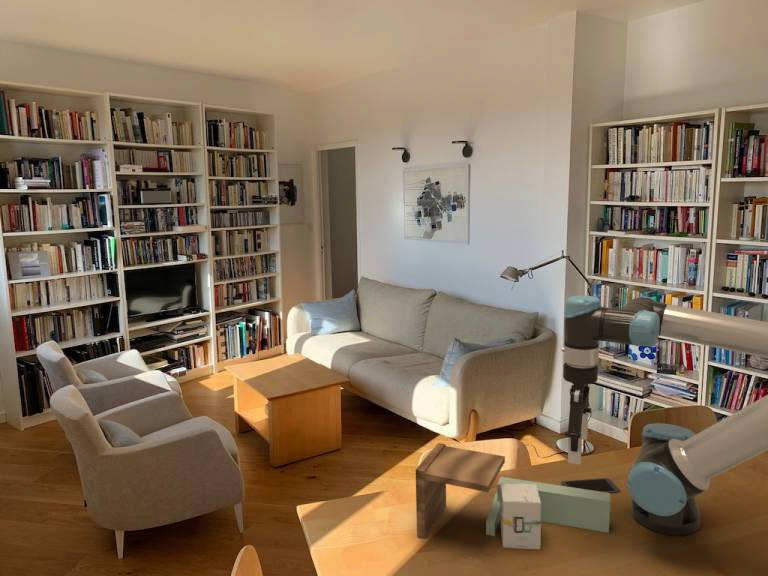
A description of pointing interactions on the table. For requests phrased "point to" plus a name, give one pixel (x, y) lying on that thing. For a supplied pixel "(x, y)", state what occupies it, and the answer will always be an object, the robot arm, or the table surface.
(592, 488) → the cell phone
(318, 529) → the table surface
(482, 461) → the shelf
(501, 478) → the sage green box
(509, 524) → the ink box
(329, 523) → the table surface
